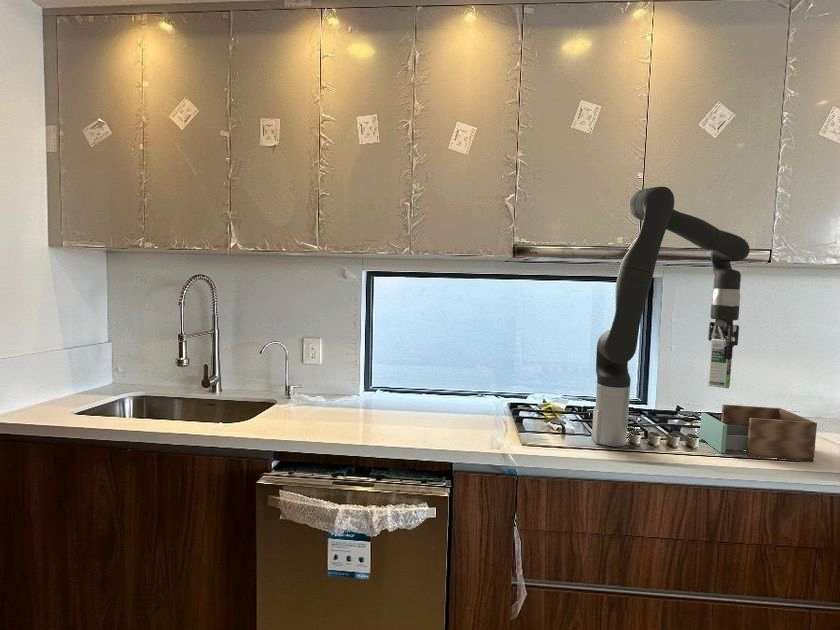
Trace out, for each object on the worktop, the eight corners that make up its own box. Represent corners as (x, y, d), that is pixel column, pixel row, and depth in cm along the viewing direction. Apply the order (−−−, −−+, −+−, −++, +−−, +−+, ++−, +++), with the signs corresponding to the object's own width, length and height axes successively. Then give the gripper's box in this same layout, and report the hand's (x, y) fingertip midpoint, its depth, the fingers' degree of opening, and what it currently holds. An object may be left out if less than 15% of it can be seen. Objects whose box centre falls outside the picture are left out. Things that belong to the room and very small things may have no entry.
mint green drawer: (720, 452, 152) (722, 425, 151) (699, 437, 166) (701, 412, 166) (772, 456, 150) (774, 428, 150) (746, 441, 165) (748, 415, 164)
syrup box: (707, 386, 164) (711, 339, 163) (709, 383, 169) (712, 337, 168) (729, 388, 161) (732, 340, 160) (729, 386, 166) (733, 339, 165)
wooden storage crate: (748, 457, 149) (751, 418, 149) (719, 439, 167) (722, 404, 167) (813, 462, 148) (817, 423, 147) (777, 443, 165) (780, 408, 165)
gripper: (702, 302, 171) (698, 353, 172) (723, 304, 156) (719, 359, 157) (726, 303, 170) (722, 354, 171) (750, 305, 156) (745, 361, 157)
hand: (721, 357), depth 164 cm, fingers closed on syrup box, 7 cm apart
